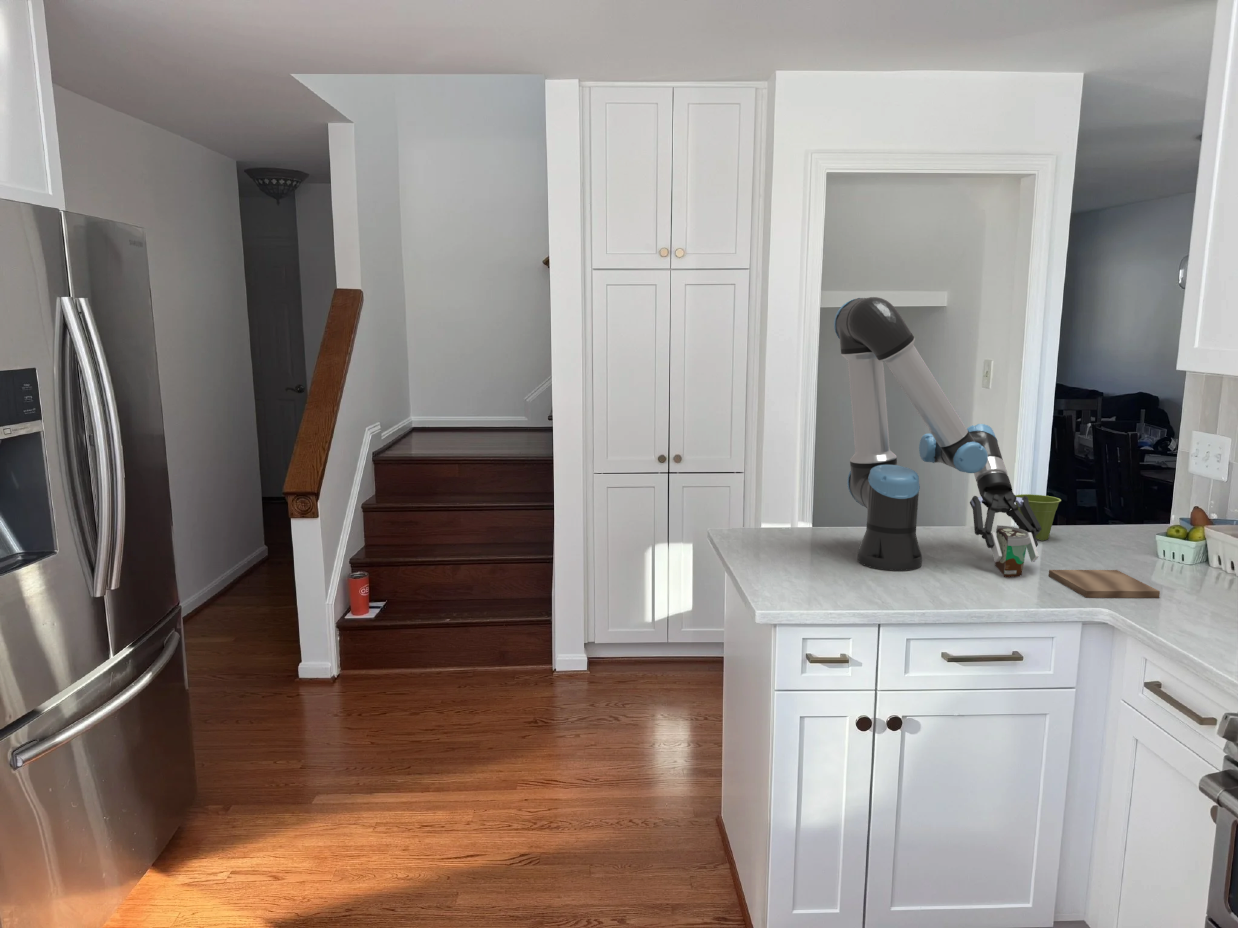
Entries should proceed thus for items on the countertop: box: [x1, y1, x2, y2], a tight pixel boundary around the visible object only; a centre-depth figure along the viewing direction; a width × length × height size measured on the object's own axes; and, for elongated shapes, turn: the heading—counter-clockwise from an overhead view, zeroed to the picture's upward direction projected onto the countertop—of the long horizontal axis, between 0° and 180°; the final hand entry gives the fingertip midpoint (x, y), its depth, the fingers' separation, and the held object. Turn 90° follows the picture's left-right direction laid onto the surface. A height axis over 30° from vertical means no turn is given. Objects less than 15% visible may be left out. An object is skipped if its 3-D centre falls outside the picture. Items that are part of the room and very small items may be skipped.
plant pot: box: [1014, 493, 1062, 541], centre depth 236 cm, size 12×12×11 cm
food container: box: [994, 524, 1030, 578], centre depth 204 cm, size 12×6×10 cm, turn 168°
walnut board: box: [1048, 569, 1161, 599], centre depth 194 cm, size 16×16×2 cm
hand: (1016, 558), depth 203 cm, fingers open, 8 cm apart
